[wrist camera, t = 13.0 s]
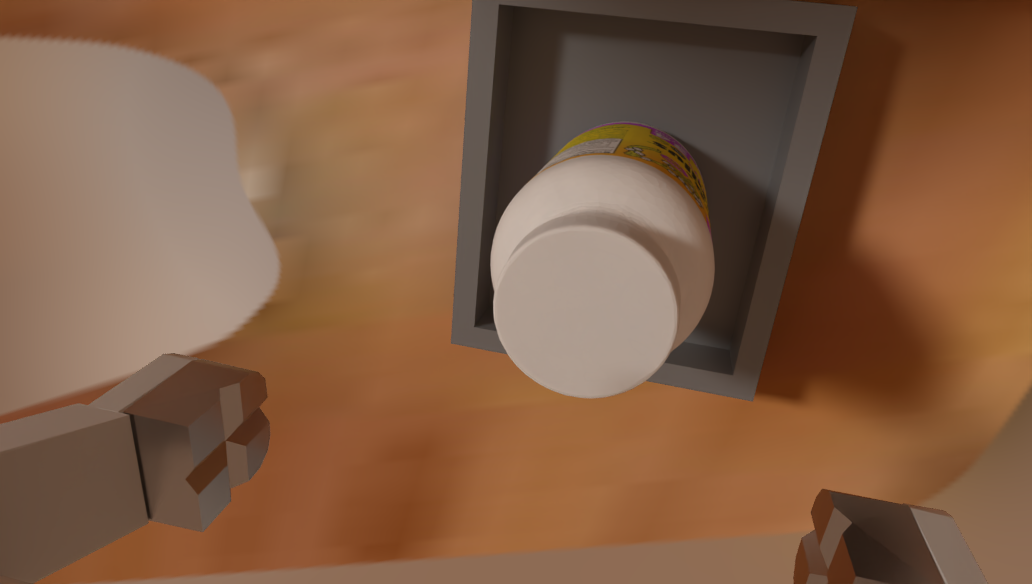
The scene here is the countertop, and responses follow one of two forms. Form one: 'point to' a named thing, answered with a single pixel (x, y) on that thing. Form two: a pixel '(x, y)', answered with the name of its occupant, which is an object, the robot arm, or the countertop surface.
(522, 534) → the countertop surface
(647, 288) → the supplement bottle
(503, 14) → the tray
